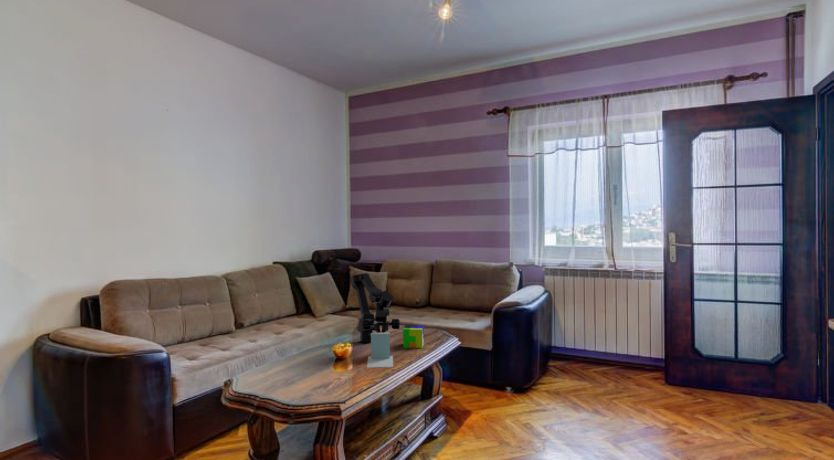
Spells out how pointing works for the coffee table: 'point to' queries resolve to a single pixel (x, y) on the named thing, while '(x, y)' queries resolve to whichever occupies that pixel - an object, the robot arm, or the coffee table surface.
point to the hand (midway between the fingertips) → (381, 339)
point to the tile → (380, 345)
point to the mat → (380, 362)
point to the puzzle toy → (413, 336)
